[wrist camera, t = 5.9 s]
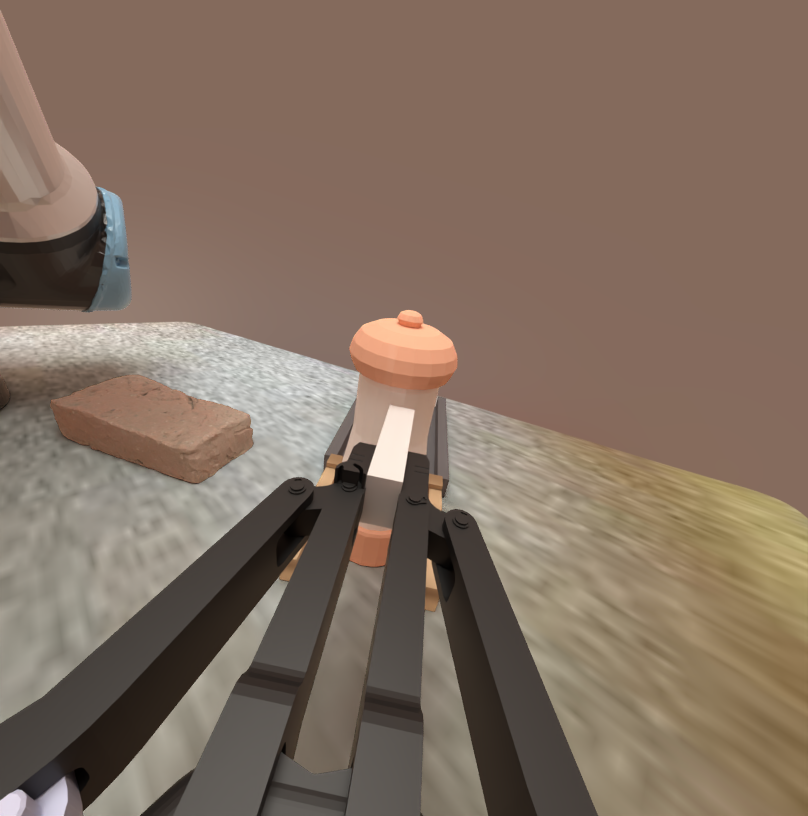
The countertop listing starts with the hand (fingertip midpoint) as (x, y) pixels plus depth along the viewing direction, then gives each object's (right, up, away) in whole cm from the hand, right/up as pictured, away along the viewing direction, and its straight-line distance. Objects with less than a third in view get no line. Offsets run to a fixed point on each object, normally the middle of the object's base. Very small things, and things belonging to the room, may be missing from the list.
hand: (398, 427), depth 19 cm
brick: (-25, -3, +15) cm, 30 cm away
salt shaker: (-2, -10, +9) cm, 14 cm away
